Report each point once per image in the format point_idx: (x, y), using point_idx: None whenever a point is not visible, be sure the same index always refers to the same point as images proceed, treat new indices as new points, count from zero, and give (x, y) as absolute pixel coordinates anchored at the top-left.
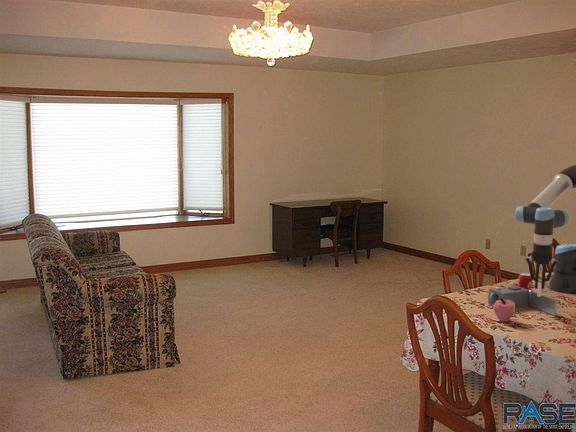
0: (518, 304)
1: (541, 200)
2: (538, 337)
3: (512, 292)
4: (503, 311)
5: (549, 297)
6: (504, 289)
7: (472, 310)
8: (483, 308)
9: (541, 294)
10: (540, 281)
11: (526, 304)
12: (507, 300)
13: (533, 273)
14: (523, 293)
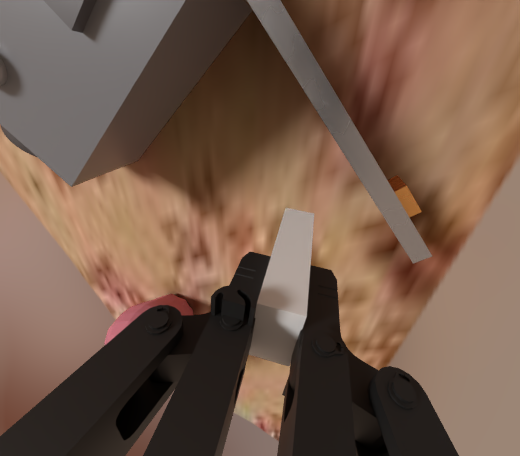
0: (197, 74)
1: None
2: (275, 396)
3: (106, 127)
4: None
5: (390, 191)
6: (22, 41)
7: (60, 225)
8: (77, 185)
9: (338, 102)
10: (280, 336)
11: (247, 11)
12: None
13: (120, 406)
14: (183, 27)
